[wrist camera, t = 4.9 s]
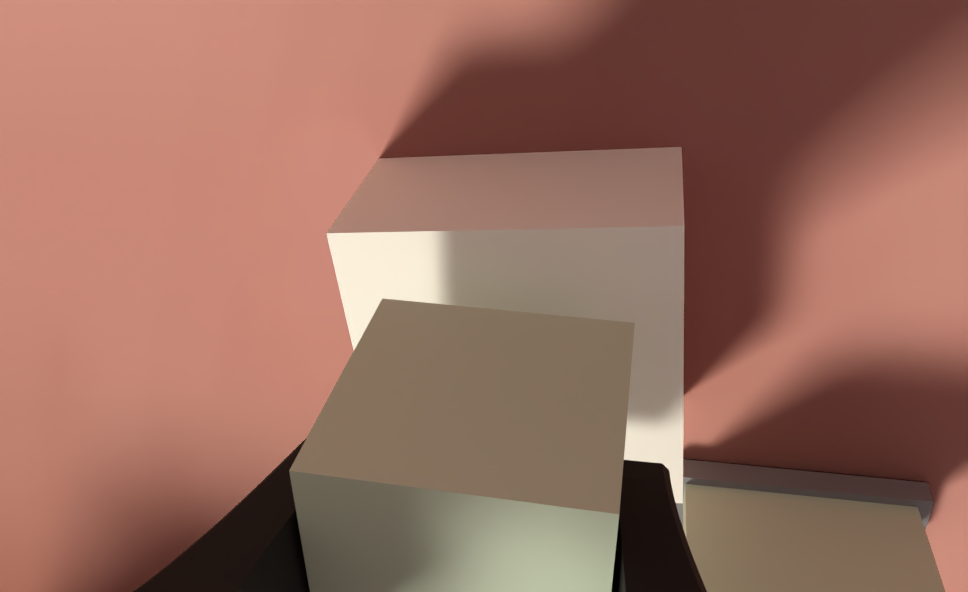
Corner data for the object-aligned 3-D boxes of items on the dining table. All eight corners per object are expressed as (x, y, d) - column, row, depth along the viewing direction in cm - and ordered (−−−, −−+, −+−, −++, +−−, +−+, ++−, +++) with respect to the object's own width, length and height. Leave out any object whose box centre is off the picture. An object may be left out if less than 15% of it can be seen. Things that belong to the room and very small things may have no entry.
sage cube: (634, 322, 13) (619, 514, 10) (616, 510, 15) (598, 720, 12) (382, 298, 14) (288, 470, 11) (397, 481, 16) (324, 673, 13)
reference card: (927, 482, 20) (997, 682, 15) (911, 533, 20) (973, 735, 16) (672, 458, 20) (673, 640, 16) (667, 507, 21) (666, 692, 17)
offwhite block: (681, 142, 17) (684, 226, 14) (680, 391, 20) (683, 503, 17) (381, 153, 18) (326, 233, 15) (425, 386, 21) (386, 490, 18)
